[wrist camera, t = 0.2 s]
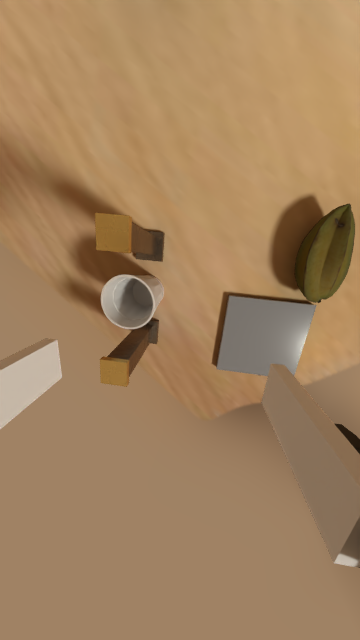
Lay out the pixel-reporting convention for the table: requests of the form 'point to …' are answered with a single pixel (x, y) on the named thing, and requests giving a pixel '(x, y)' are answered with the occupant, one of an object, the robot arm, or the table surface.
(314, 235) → the fruit
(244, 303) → the pad
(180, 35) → the table surface
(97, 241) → the post
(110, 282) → the cup
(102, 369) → the post
